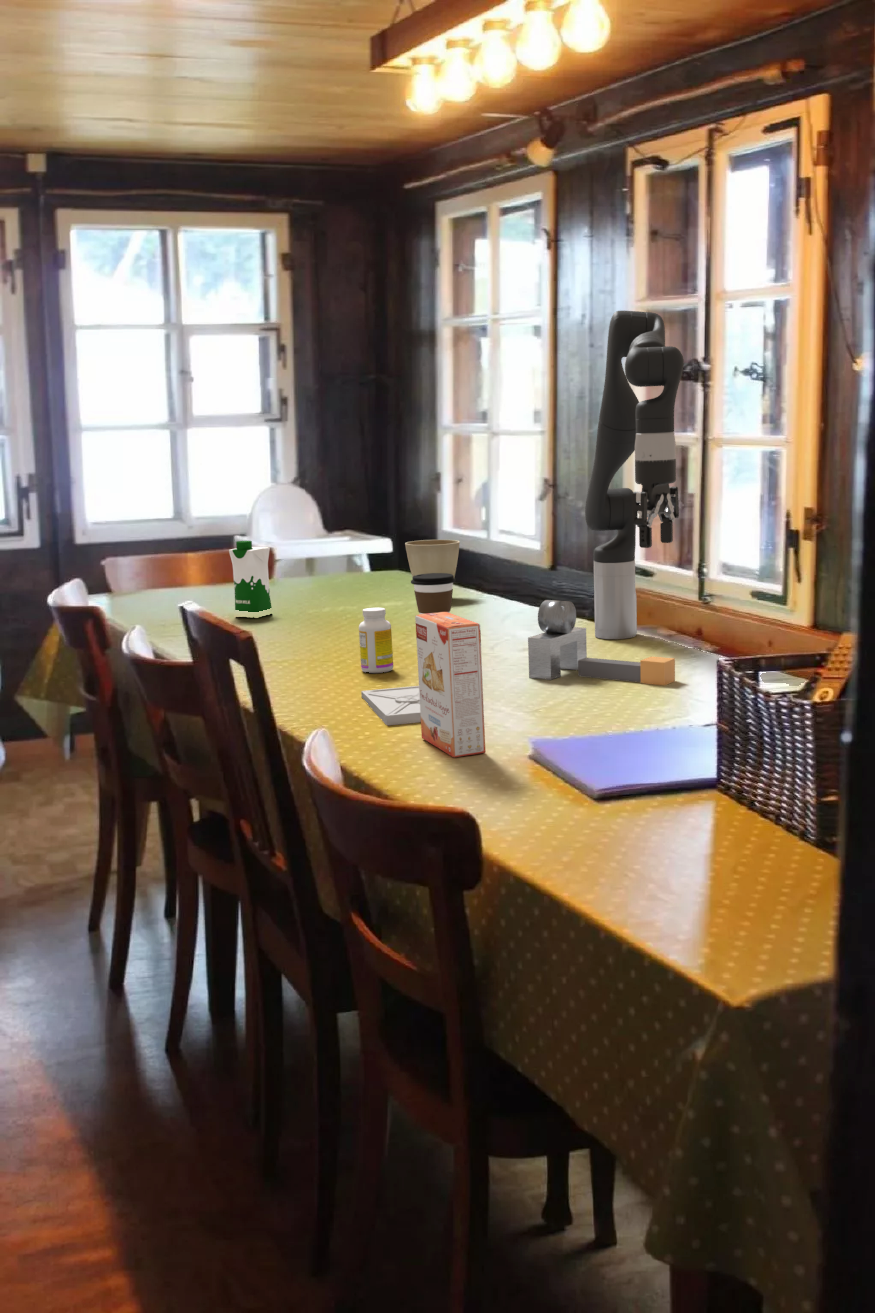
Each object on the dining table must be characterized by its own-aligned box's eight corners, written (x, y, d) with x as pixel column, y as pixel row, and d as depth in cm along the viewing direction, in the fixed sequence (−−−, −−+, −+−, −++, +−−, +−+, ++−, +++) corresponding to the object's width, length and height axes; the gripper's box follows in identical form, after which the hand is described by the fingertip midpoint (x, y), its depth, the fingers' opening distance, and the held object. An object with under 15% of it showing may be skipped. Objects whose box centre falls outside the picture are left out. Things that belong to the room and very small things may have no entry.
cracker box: (419, 739, 228) (413, 613, 224) (453, 735, 230) (448, 610, 226) (451, 759, 215) (445, 625, 211) (486, 754, 217) (482, 622, 213)
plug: (576, 677, 272) (576, 654, 271) (588, 672, 276) (587, 651, 275) (664, 685, 261) (664, 662, 260) (675, 681, 264) (674, 658, 264)
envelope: (432, 694, 265) (361, 701, 262) (432, 683, 264) (361, 689, 261) (464, 719, 241) (386, 726, 238) (463, 706, 241) (386, 714, 238)
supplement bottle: (398, 667, 288) (395, 606, 286) (386, 674, 282) (383, 611, 280) (368, 667, 290) (365, 606, 288) (356, 673, 284) (352, 611, 282)
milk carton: (230, 618, 364) (224, 542, 360) (252, 612, 371) (247, 538, 368) (256, 619, 359) (250, 542, 355) (278, 614, 367) (273, 538, 363)
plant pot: (462, 602, 373) (459, 543, 370) (406, 605, 374) (404, 545, 371) (461, 594, 388) (459, 538, 385) (408, 596, 388) (406, 540, 385)
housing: (565, 664, 284) (563, 595, 281) (586, 666, 281) (585, 596, 278) (529, 677, 273) (527, 605, 270) (550, 679, 270) (549, 606, 267)
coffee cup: (405, 627, 338) (403, 578, 336) (423, 620, 348) (420, 572, 346) (447, 628, 334) (445, 578, 332) (463, 621, 344) (461, 572, 341)
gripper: (655, 459, 248) (656, 550, 251) (690, 455, 260) (691, 541, 263) (618, 460, 253) (620, 548, 256) (654, 455, 264) (655, 540, 267)
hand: (656, 545), depth 259 cm, fingers open, 8 cm apart
